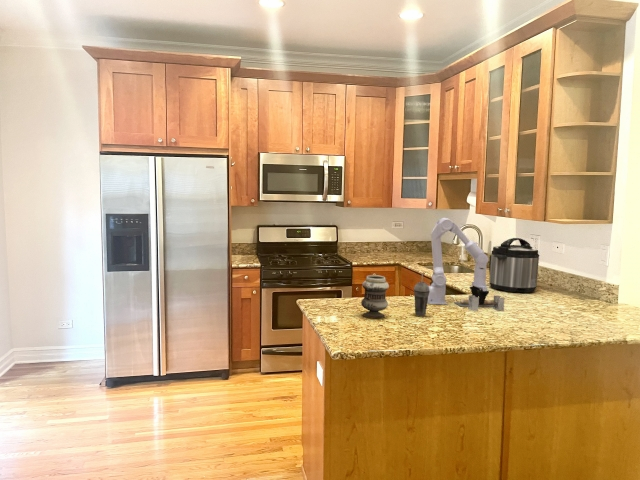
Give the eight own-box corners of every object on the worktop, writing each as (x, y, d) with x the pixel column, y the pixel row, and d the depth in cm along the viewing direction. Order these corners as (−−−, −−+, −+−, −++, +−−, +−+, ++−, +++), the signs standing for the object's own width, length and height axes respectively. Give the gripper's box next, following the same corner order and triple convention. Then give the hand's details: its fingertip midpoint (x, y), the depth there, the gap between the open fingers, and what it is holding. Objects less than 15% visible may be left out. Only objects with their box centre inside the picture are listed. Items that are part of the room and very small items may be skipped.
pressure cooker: (526, 285, 300) (530, 236, 297) (547, 295, 272) (551, 241, 269) (479, 284, 300) (483, 235, 297) (495, 293, 272) (499, 239, 269)
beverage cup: (429, 314, 217) (431, 272, 215) (427, 318, 210) (430, 274, 208) (413, 312, 219) (415, 270, 217) (411, 316, 212) (413, 272, 210)
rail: (461, 304, 237) (462, 300, 237) (460, 303, 240) (460, 298, 239) (495, 305, 239) (496, 300, 238) (493, 303, 241) (494, 299, 241)
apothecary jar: (370, 320, 202) (372, 279, 201) (355, 313, 213) (357, 275, 211) (392, 318, 208) (394, 278, 206) (377, 311, 219) (379, 273, 217)
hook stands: (471, 310, 227) (472, 297, 227) (467, 308, 232) (468, 295, 232) (503, 311, 229) (504, 298, 228) (498, 308, 234) (499, 295, 233)
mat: (460, 306, 234) (460, 305, 234) (454, 303, 242) (454, 302, 242) (502, 307, 236) (502, 306, 236) (495, 303, 244) (495, 302, 244)
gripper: (494, 278, 231) (492, 305, 232) (481, 273, 245) (479, 299, 247) (480, 278, 230) (478, 305, 232) (468, 273, 245) (466, 298, 246)
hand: (478, 302), depth 239 cm, fingers open, 7 cm apart
